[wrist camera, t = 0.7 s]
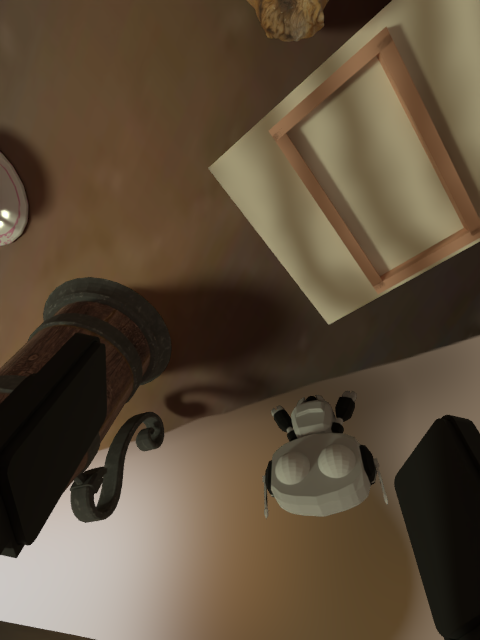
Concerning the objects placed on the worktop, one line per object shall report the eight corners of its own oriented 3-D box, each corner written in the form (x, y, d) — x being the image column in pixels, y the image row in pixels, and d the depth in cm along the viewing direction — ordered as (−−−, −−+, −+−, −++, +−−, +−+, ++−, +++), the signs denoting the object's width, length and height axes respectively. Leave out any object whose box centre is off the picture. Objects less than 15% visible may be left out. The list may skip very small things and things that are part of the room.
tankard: (15, 304, 43) (-161, 429, 26) (122, 256, 38) (-13, 373, 21) (121, 428, 53) (43, 577, 36) (217, 403, 48) (178, 564, 31)
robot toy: (353, 372, 42) (381, 484, 29) (362, 398, 44) (392, 514, 31) (261, 393, 46) (250, 501, 33) (272, 416, 48) (267, 527, 35)
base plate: (454, -56, 23) (472, -74, 21) (549, 192, 30) (571, 199, 27) (211, 165, 32) (205, 170, 30) (327, 317, 39) (329, 330, 36)
